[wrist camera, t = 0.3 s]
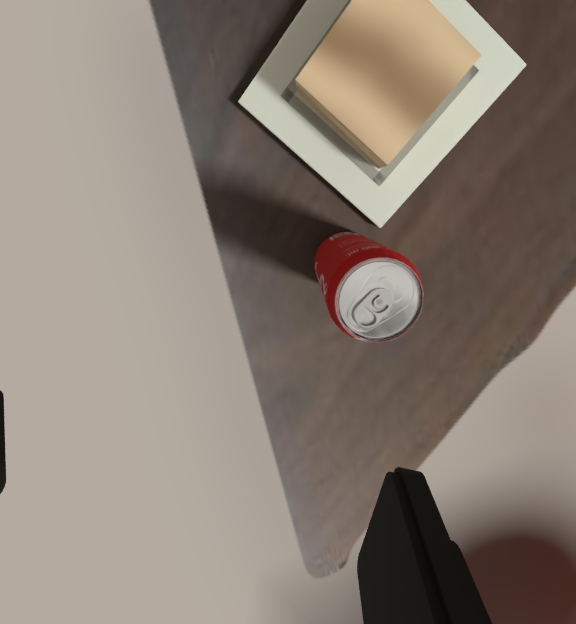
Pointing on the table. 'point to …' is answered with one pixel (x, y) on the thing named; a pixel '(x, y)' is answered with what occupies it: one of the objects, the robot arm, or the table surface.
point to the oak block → (384, 72)
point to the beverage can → (368, 287)
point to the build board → (344, 155)
